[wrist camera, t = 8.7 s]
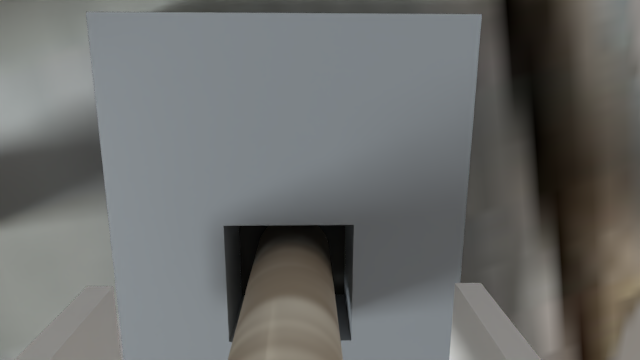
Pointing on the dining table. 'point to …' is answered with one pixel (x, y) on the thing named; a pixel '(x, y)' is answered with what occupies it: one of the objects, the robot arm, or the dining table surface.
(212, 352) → the grey block with hole
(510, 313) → the dining table surface
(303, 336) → the long pin
